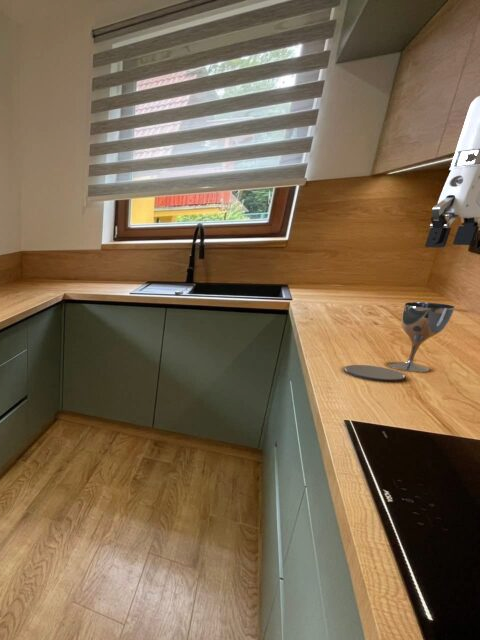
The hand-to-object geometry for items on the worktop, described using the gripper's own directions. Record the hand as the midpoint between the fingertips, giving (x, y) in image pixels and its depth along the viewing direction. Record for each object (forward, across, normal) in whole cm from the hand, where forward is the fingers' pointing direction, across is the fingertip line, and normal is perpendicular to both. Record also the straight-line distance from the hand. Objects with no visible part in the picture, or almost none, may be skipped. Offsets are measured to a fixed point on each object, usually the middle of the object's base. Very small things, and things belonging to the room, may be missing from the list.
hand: (448, 245), depth 95 cm
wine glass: (+28, -2, -1) cm, 28 cm away
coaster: (+28, -15, -1) cm, 32 cm away
